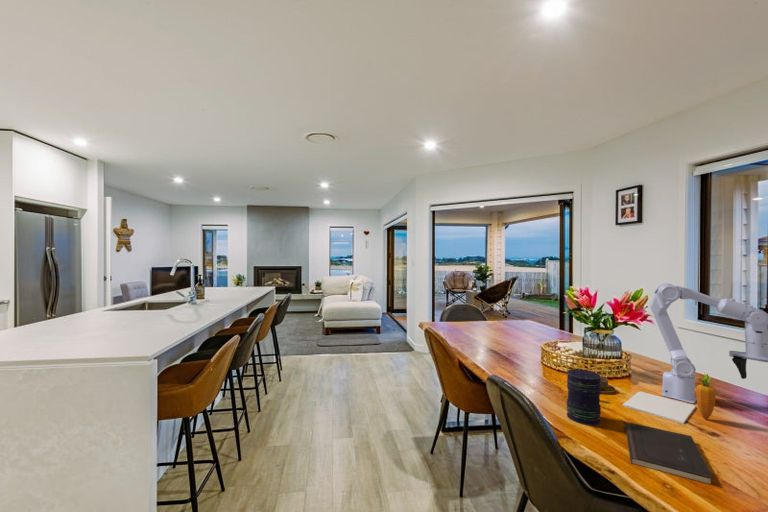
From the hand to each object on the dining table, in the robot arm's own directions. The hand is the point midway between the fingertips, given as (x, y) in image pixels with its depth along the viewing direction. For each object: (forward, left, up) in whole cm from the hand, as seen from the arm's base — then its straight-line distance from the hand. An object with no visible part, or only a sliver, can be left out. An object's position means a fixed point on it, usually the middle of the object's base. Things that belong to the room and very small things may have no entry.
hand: (758, 381), depth 122 cm
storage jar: (-37, -55, -11) cm, 67 cm away
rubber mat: (-23, -23, -11) cm, 34 cm away
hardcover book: (-15, -59, -12) cm, 62 cm away
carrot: (-11, -23, -11) cm, 28 cm away
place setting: (-45, -26, -12) cm, 53 cm away
